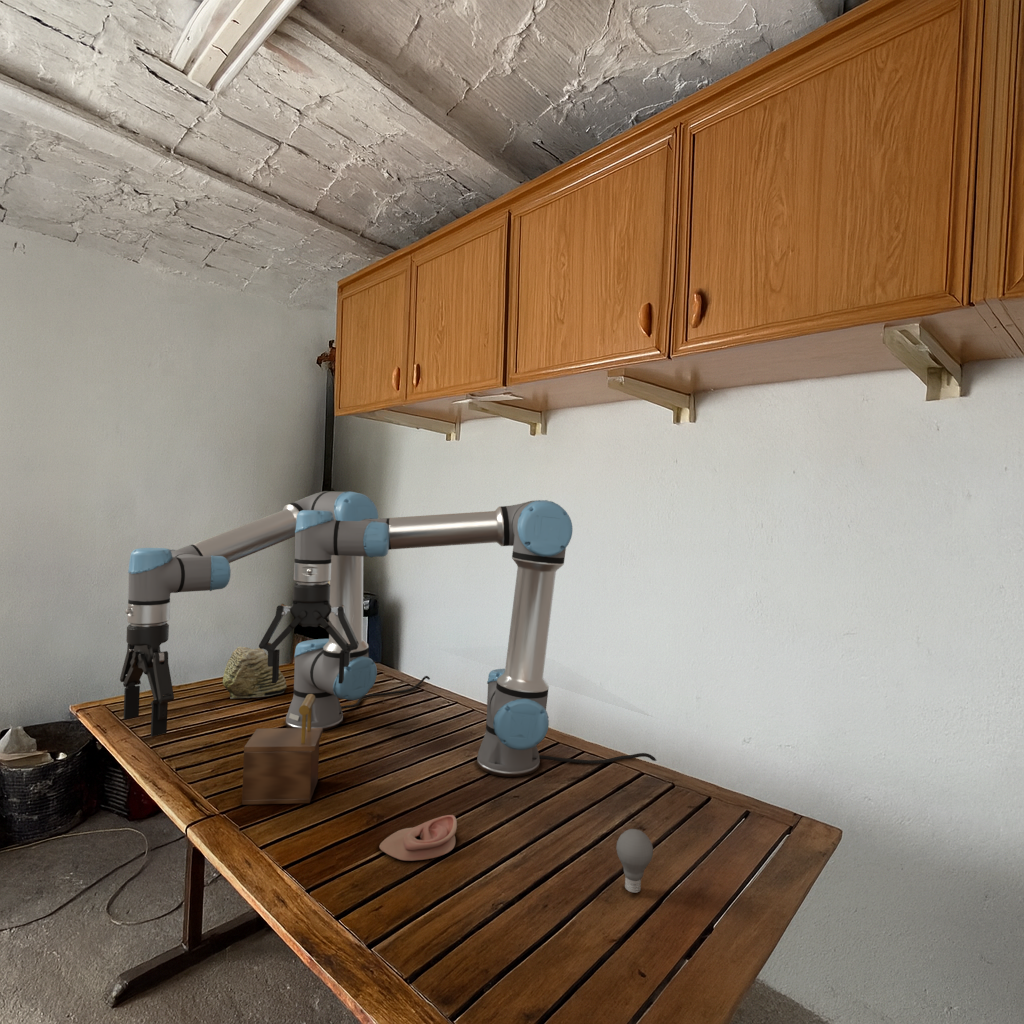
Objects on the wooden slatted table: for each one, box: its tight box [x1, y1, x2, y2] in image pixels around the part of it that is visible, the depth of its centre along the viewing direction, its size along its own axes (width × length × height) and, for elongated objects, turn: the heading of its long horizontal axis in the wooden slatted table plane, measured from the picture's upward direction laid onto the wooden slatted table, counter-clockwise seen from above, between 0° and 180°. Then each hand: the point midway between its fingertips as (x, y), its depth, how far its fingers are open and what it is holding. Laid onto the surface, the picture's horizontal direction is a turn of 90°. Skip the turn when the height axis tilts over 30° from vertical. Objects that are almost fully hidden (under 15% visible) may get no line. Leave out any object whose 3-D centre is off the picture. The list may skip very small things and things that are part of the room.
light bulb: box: [615, 828, 654, 894], centre depth 106 cm, size 6×6×10 cm
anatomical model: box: [379, 814, 458, 862], centre depth 117 cm, size 13×4×12 cm
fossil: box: [222, 646, 288, 699], centre depth 198 cm, size 9×18×15 cm, turn 132°
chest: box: [241, 741, 320, 806], centre depth 135 cm, size 13×10×11 cm
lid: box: [243, 694, 324, 753], centre depth 135 cm, size 14×10×9 cm
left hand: (144, 725), depth 131 cm, fingers open, 13 cm apart
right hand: (308, 681), depth 135 cm, fingers open, 13 cm apart
